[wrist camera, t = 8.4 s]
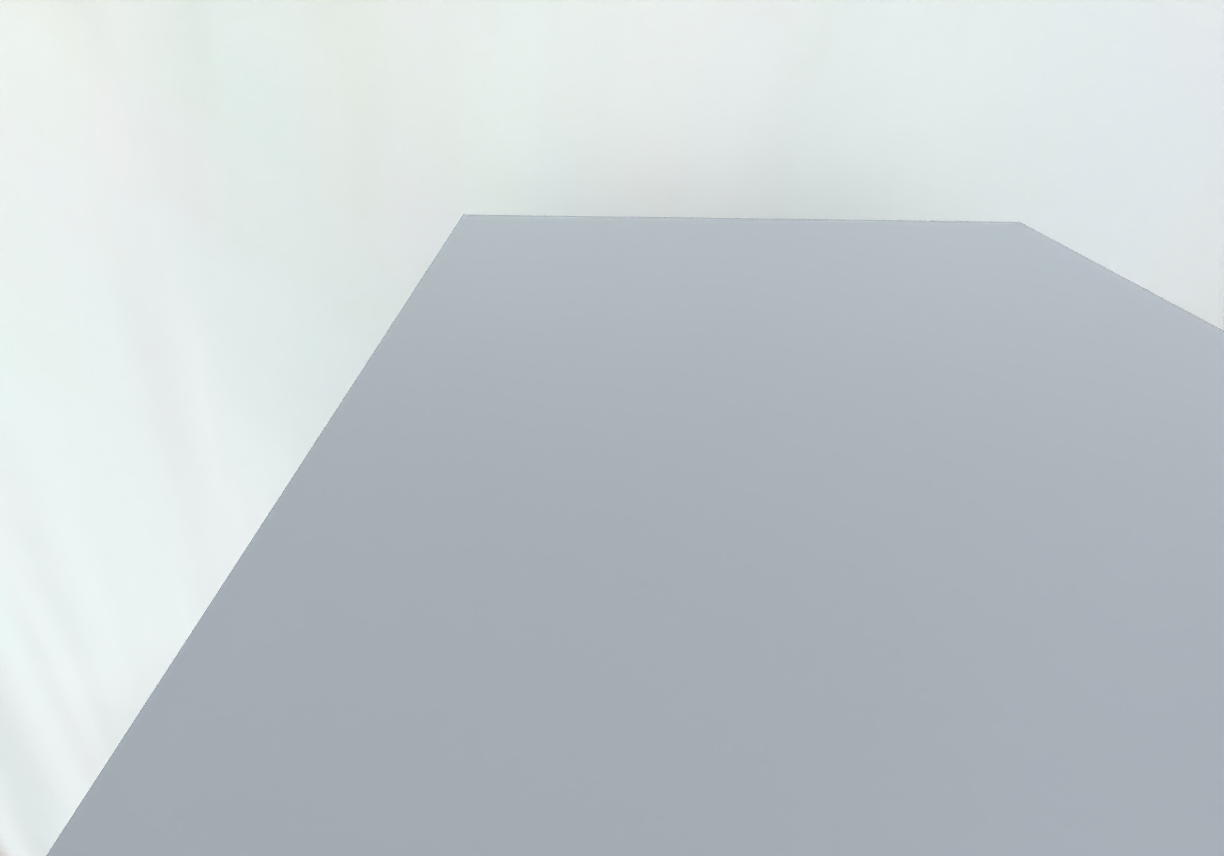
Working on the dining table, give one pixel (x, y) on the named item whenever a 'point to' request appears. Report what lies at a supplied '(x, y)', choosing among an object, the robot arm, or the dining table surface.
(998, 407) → the grey matte cube
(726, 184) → the dining table surface
